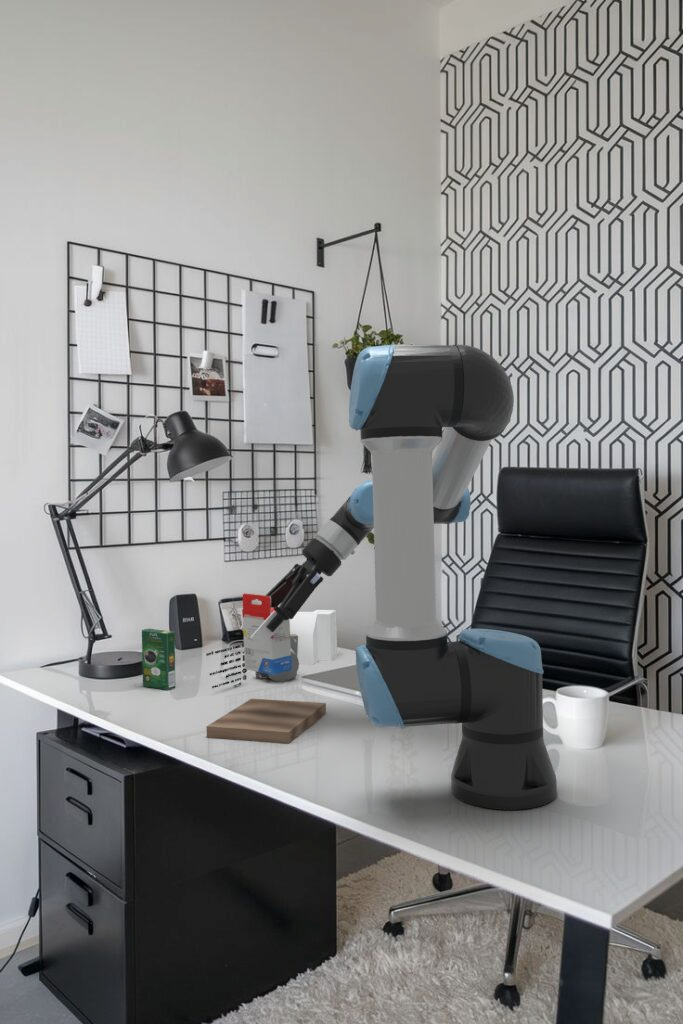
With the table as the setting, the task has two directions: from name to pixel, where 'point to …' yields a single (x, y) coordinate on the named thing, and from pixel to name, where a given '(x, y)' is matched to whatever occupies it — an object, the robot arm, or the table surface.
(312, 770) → the table surface
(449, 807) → the table surface
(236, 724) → the walnut plate
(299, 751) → the table surface
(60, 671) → the table surface
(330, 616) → the corner bracket
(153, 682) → the coffee box
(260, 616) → the ink box
